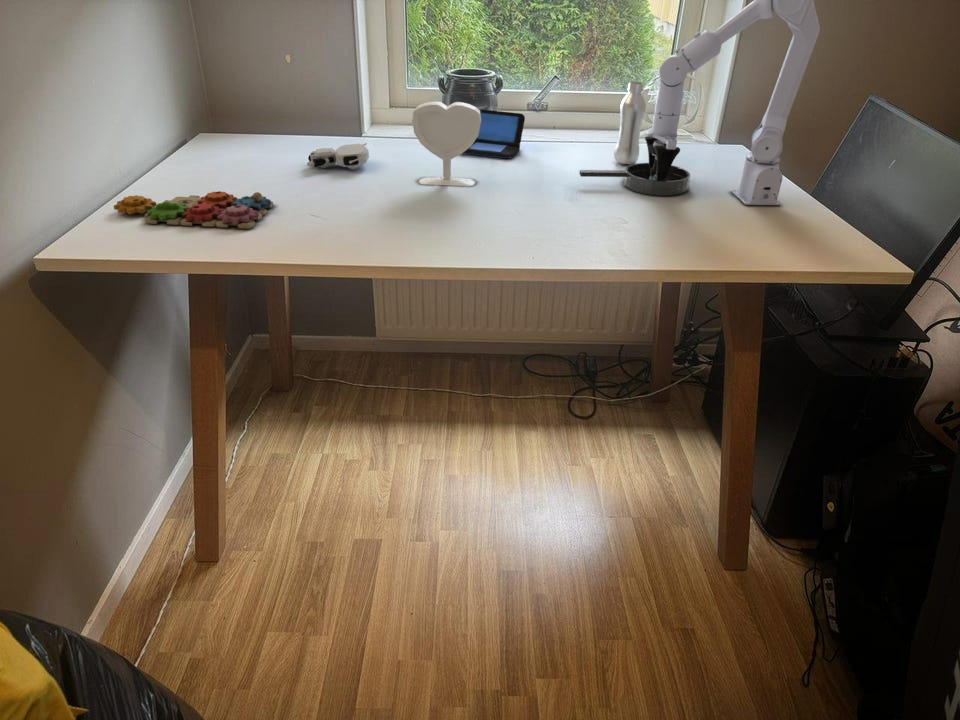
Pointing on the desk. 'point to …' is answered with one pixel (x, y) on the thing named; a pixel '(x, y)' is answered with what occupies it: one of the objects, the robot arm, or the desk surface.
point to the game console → (498, 134)
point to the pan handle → (603, 173)
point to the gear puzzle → (200, 209)
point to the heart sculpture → (446, 134)
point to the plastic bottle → (630, 124)
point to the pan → (669, 186)
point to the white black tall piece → (654, 170)
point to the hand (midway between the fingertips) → (657, 172)
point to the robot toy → (340, 156)
